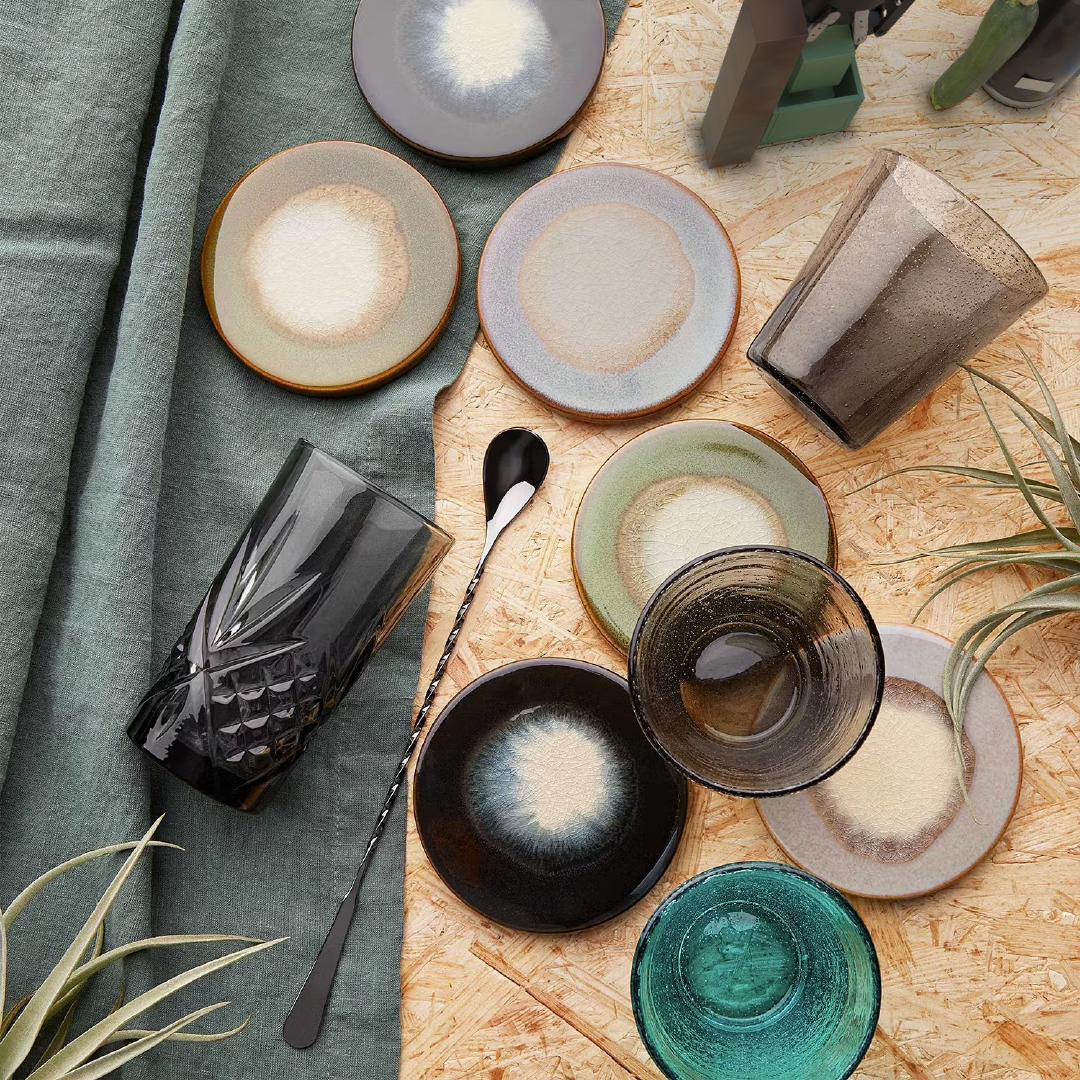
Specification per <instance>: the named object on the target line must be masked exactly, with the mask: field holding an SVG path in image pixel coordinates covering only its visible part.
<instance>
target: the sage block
mask: <svg viewBox="0 0 1080 1080" xmlns="http://www.w3.org/2000/svg"><path fill="white" fill-rule="evenodd" d="M856 54H857V50H856V51H855V47H854V43H853V38H852V34H851V30H850V26H849V24H845V25H833V26H830V27H827V28H825V30H824V31H823V32H822V33H821V34H820V35H819V36H818V37H817V38H816V39H815V40H814V41H813V42H806V43H805V45H804V47H803V49H802V51H801V54H800V56H799V58H798V60H797V62H796V64H795V67H794V69H793V71H792V73H791V75H790V77H789V79H788V82H787V87H788V92H789V93H794V92H800V91H806V90H812V89H818V88H824V87H829V86H835V85H839V83H840V81H841V79H842V77H843V76H844V74H845V72H846V70H847V68H848V67H849V65H850V63H851V61H852V59H853V57H854V56H855V57H856Z"/></svg>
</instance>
